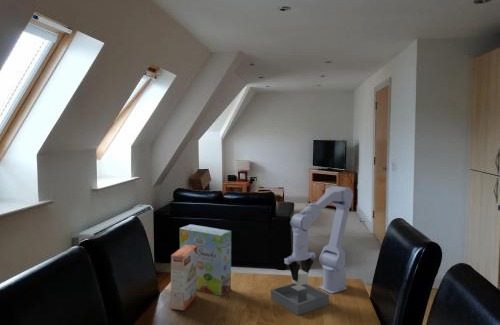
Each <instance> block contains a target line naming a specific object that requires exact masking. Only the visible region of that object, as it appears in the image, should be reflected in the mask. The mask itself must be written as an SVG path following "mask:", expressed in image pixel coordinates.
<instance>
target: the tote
mask: <svg viewBox="0 0 500 325" xmlns="http://www.w3.org/2000/svg"><path fill="white" fill-rule="evenodd" d="M296 285H297V284H295V283H293V282H291V283H289V284H285V285H282V286H279V287H275V288H272V289H270V300H272V301H273V302H274V303H277V304H278V305H279V306H281V307H283V308H284V309H286V310H288V311H290V313H293V314H295V315H297V316H300V315H303V314H307V313H308V312H309V313H310V312H312V311H314V310H318V309H320V308H323V307H326V306H329V305H330V293H328V292H326V291H324V290H322V289H320V288H319V289H318V288H316V287H315V286H312V285H310V284H309V283H307V284H303V285H301V286H303V287H305V288H307V301H304V302H301V303H296V302H294V301H293V300H291V299H290V294H291V287H292V286H296ZM317 308H318V309H317Z"/></svg>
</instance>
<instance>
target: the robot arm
mask: <svg viewBox="0 0 500 325" xmlns="http://www.w3.org/2000/svg"><path fill="white" fill-rule="evenodd" d="M353 198H354V193H353V190H352V188H350V187H345V186H337V185H334V184H331V185H329V186H328V187H326V189H325V192H324V194H322V196H321V197H319V199H318V200H317V201H316V202H315V203H314V202H310V203H309V204H308V205H307V206H306V207H304V209H302V210H301V211H300V212H299V213H294V214H293V215H292V217H291V220H290V221H289V224H290V226H291V227H292V228H291V231H292V233H293V239H292V242H293V243H292V252H291V255H289V256H287V257H285V258H283V259H284V260H283V261H284V264H285V265H287V266H288V268H289V271H290V273H291V280H292V279H293V280H295V281H297V280H298V271H299V270H300V268H301V270H302V271H305V272H307V273H308V274H309V273H310V270H311V268H312V266H313V264H314V259H316V253H315V252H313V251H312V252H309V251H308V249H309V230H310V229H311V227H312V225H313V224H314V221H315V220H316V219H317V218H318V217H320V215H321V214H322V210H323V209H324V208H326V207H327V206H328V205H329V204H332V205H334V206H335V208H336V211H335V215H334V218H333V222H332V223H333V224H332V228H331V232H330V235H329V236H330V237H329V241H328V244H327V245H325V246H323V247H322V251H321V253H320V255H319V264H320V265H321V268H323V271H322V272H323V273H322V274H323V275H322V278H323V279H322V284H321V285H319V286H318V288H319V289H320V290H322V291H324V292H326V293H328V294H337V293H338V292H341V291H345V290H347V289H348V287H346V286H347V285H346V284H347V282H346V281H347V273H346V270H345V266H346V251H344V249H343V248H342V245H343V241H344V236H345V231H346V225H347V222H348V217H349V211H350V208H351V207H352V203H353ZM298 262H300V264H299V263H298Z"/></svg>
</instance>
